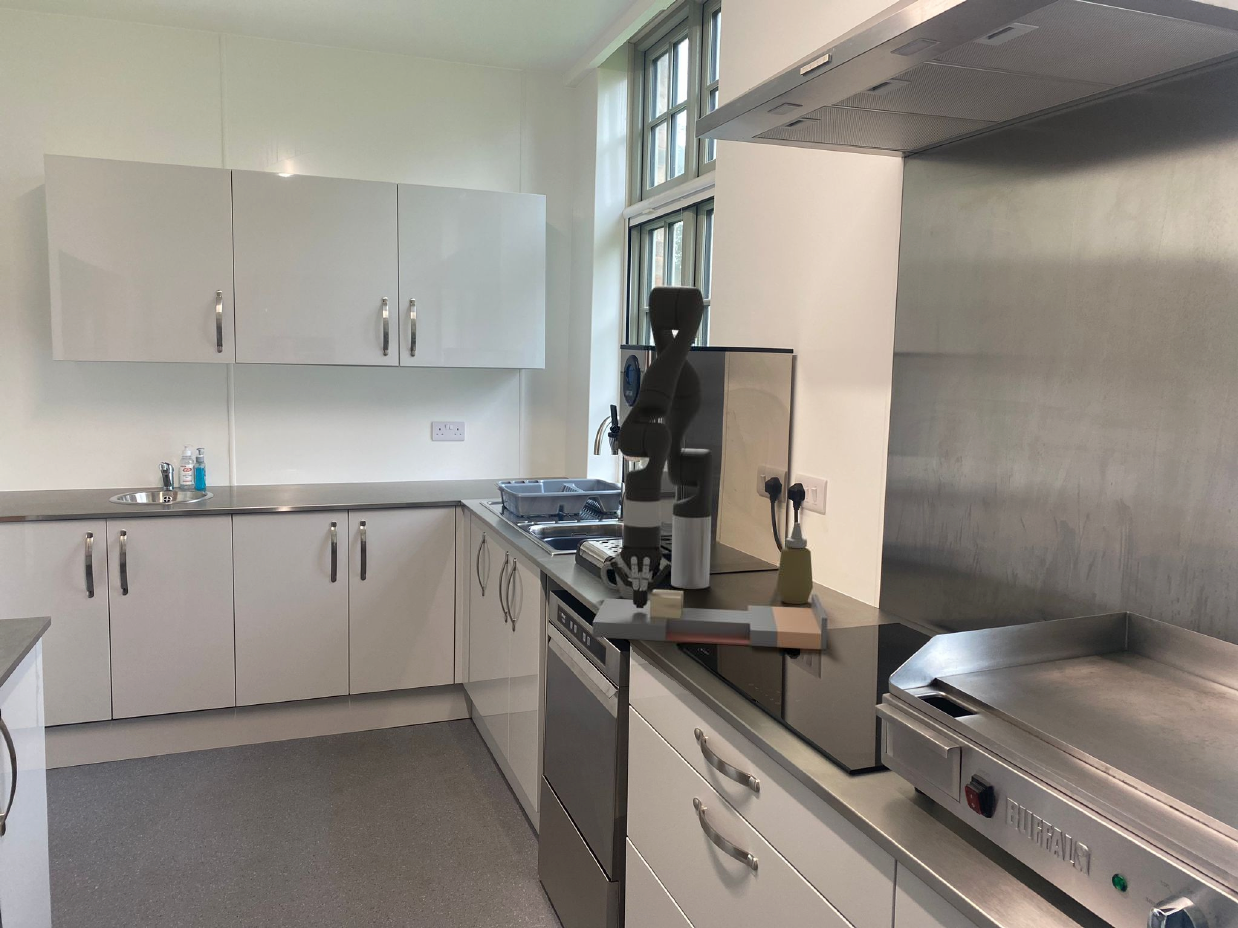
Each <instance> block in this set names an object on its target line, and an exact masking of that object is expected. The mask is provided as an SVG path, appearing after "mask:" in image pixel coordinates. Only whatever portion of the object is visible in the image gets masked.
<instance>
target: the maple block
mask: <svg viewBox="0 0 1238 928" xmlns="http://www.w3.org/2000/svg"><path fill="white" fill-rule="evenodd" d="M649 597H650V598H649V601H650V617H665V618H680V617H681V614H682V611H683V608H684V590H673V589H671V590H669V589H654V588H653V590H652V592H651V594H650V596H649Z"/></svg>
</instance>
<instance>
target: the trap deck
mask: <svg viewBox="0 0 1238 928" xmlns="http://www.w3.org/2000/svg"><path fill="white" fill-rule="evenodd" d="M827 631H828V616H827V615H826V612H825V610H824V608H823V605H822V603H821V601H820V598H819V596H818V594H817V593H816V594H815V593H812V594H811V606H810V607H809V608H808V607H791V606H790V607H788V606H787V607H786V606H767V605H752V604H751V605H749V604H747V610H734V609H715V608H713V609H712V608H711V609H710V608H696V607H695V608H694V607H693V608H691V607H683V611H682V614H681V617H680V618H665V617H650V600H648V602H647V604H646V606H644V608H636V605H634V604H633V599H625V598H605V599H603V602H602V604H601V606H600V607H599V610H598V612H597V614H596V615H595V617H594V619H593V621H592V638H602V639H619V640H621V639H623V640H641V641H656V642H657V641H662V642H674V643H675V642H679V643H680V642H681V643H694V644H695V643H697V644H717V645H732V646H735V645H736V646H750V647H752V646H753V647H755V646H756V647H769V648H771V647H772V648H791V649H806V650H807V649H810V650H812V649H813V650H824V649H825V650H827V637H828V636H827V633H828V632H827Z"/></svg>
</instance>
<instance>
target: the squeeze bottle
mask: <svg viewBox="0 0 1238 928" xmlns="http://www.w3.org/2000/svg"><path fill="white" fill-rule="evenodd" d="M807 547H808V540H807V538H804V537H803V534H802V529H801V523H800V522H794V523H793V527H792V532H791V534H790V537H787V538H785V546H784V547H782V548H781V551H780V557H779V558H780V559H779V564H778V572H777V580H776V586H777V590H778V593H779V597H780V600H781V602H783V603H787V604H790V605H801V604H806V603H807V602H808V600H809V597H810V595H811V593H812V590H813V587H814V586H813V581H814V580H813V568H812V567H813V566H812V554H811V553H812V551H811V550H810V549H809V548H807Z"/></svg>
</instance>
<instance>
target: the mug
mask: <svg viewBox="0 0 1238 928" xmlns="http://www.w3.org/2000/svg"><path fill="white" fill-rule="evenodd" d="M619 556H620V552H618V553H616V554H615V555H614V559H616V558H617V557H619ZM622 562H623V566H622V568H623V569H624V570H625V572H626V573H627V574H628V576H629V577H630V579H632V571H630V570H629V569H628V567H627V566H626V564H625V563H624V561H623V560H622ZM610 563H611V561H606V562H604V563H603V564H602V566H601V567H600V577H601V579H602V581H603V583H604V584H605V586H606V587H607V588H610V589H613V590H619V592H620V595H621V598H622V599H625V598H626V599H627V600H633V589H632V588H631V587H629V586H625V585H624V584H623V582H622V581H621V579H620V578H619V577H618V575H617V574H616V573H615V572H614V573H615V579H616V584H613V583H611V582H610V581H609V578H608V575H607V571H608V570H613V569H612V567H611V566H610ZM653 571H654V570H653ZM653 571H652V572H650V575H649V581H651V580H652V579H653V578H652V576H653ZM641 584H642V572H640V588H641Z"/></svg>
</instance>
